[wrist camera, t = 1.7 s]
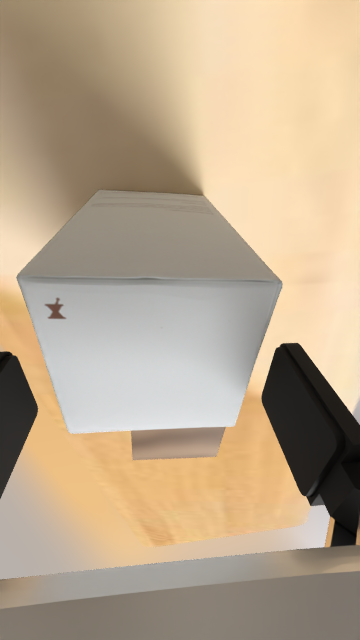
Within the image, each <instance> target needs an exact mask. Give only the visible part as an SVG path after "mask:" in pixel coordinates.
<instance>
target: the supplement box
mask: <svg viewBox="0 0 360 640" xmlns="http://www.w3.org/2000/svg"><path fill="white" fill-rule="evenodd" d="M16 278H17V281H18V283H19V286H20V289H21V292H22V294H23V297H24V300H25V303H26V306H27V308H28V311H29V314H30V317H31V320H32V323H33V326H34V329H35V332H36V335H37V339H38V342H39V345H40V348H41V351H42V354H43V357H44V360H45V363H46V367H47V370H48V372H49V375H50V378H51V382H52V385H53V388H54V391H55V394H56V397H57V400H58V403H59V406H60V409H61V413H62V415H63V419H64V422H65V424H66V427H67V429H68V432H69V433H72V434H74V433H93V432H111V431H132V430H154V429H177V428H200V427H233V426H235V424H236V420H237V417H238V414H239V411H240V408H241V405H242V402H243V399H244V395H245V392H246V389H247V386H248V383H249V380H250V377H251V373H252V370H253V367H254V364H255V361H256V358H257V356H258V353H259V350H260V347H261V344H262V342H263V339H264V336H265V333H266V331H267V328H268V325H269V322H270V319H271V316H272V314H273V311H274V308H275V305H276V302H277V299H278V297H279V294H280V291H281V289H282V281H281V280H280V279H279V278H278V277H277V276H276V275H275V274H274V273H273V272H272V271H271V269H270V268H269V267H268V266H267V265H266V264H265V263H264V262H263V261H262V259H261V258H260V257H259V256H258V255H257V254H256V253H255V252H254V251H253V249H252V248H251V247H250V246H249V245H248V244H247V243H246V242H245V240H244V239H243V238H242V237H241V236H240V235H239V234H238V233H237V232H236V230H235V229H234V228H233V227H232V226H231V225H230V224H229V223H228V222H227V220H226V219H225V218H224V217H223V216H222V215H221V214H220V212H219V211H218V210H217V209H216V208H215V207H214V206H213V205H212V204H211V202H210V201H209V200H208V199H207V198H206V197H205V196H200V195H188V194H172V193H154V192H134V191H114V190H98V191H97V192H96V193H95V194H94V195H93V196H92V197H91V198H90V199H89V200H88V202H87V203H86V204H85V205H84V206H83V207H82V208H81V209H80V210H79V211H78V212H77V213H76V214H75V215H74V216H73V217H72V218H71V219H70V220H69V221H68V222H67V223H66V224H65V226H64V227H63V228H62V229H61V230H60V231H59V232H58V233H57V234H56V235H55V236H54V237H53V238H52V239H51V240H50V241H49V242H48V243H47V244H46V245H45V246H44V247H43V248H42V250H41V251H40V252H39V253H38V254H37V255H36V256H35V257H34V258H33V259H32V260H31V261H30V262H29V263H28V264H27V265H26V266H25V267H24V268H23V269H22V270H21V272H20V273H19V274H18V275H17V277H16Z"/></svg>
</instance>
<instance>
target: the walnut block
mask: <svg viewBox="0 0 360 640" xmlns="http://www.w3.org/2000/svg"><path fill="white" fill-rule="evenodd" d="M224 431H225V427H200V428H177V429H154V430H132V431H131V436H132V457H133V460H148V459H172V458H197V457H216V456H217V453H218V450H219V447H220V443H221V440H222V437H223V434H224Z"/></svg>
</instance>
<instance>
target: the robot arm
mask: <svg viewBox="0 0 360 640" xmlns="http://www.w3.org/2000/svg"><path fill="white" fill-rule="evenodd" d="M262 403H263V406H264V408H265V411H266V413H267V415H268V418H269V420H270V423H271V425H272V427H273V430H274V432H275V434H276V437H277V439H278V441H279V444H280V446H281V448H282V451H283V453H284V455H285V458H286V460H287V463H288V465H289V467H290V470H291V472H292V474H293V477H294V479H295V481H296V484H297V486H298V488H299V490H300V492H301V494H302V495H303V496H306V497H307V499H308V501H309V504H310V506H316V505H325V506H326V508H327V510H328V513H329V515H330V521H329V527H328V532H327V537H326V543H325V547H323V548H310V549H297V550H287V551H276V552H265V553H255V554H245V555H235V556H224V557H214V558H204V559H194V560H184V561H174V562H164V563H155V564H144V565H135V566H126V567H115V568H106V569H96V570H86V571H77V572H67V573H58V574H49V575H39V576H30V577H21V578H11V579H2V580H0V640H360V425H359V423H358V422H357V421H356V419H355V418H354V417H353V415H352V414H351V413H350V411H349V410H348V409H347V407H346V406H345V405H344V403H343V402H342V400H341V399H340V398H339V396H338V395H337V394H336V392H335V391H334V390H333V388H332V387H331V386H330V384H329V383H328V382H327V380H326V379H325V378H324V376H323V375H322V374H321V372H320V371H319V370H318V368H317V367H316V366H315V364H314V363H313V361H312V360H311V359H310V357H309V356H308V355H307V353H306V352H305V351H304V349H303V348H302V347H301V345H300V344H298V343H283V344H281V345H280V347H278V348H276V350H275V353H274V356H273V360H272V363H271V366H270V370H269V373H268V376H267V379H266V383H265V386H264V389H263V393H262ZM37 412H38V406H37V403H36V401H35V399H34V396H33V394H32V391H31V389H30V387H29V384H28V382H27V379H26V377H25V375H24V372H23V370H22V367H21V365H20V362H19V360H18V358H17V357H16V356H13V355H12V353H10V352H0V498H1V496H2V494H3V491H4V489H5V487H6V484H7V482H8V480H9V478H10V475H11V473H12V471H13V469H14V466H15V464H16V462H17V459H18V457H19V455H20V452H21V450H22V448H23V445H24V443H25V441H26V439H27V437H28V434H29V432H30V430H31V427H32V425H33V423H34V420H35V418H36V416H37Z"/></svg>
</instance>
